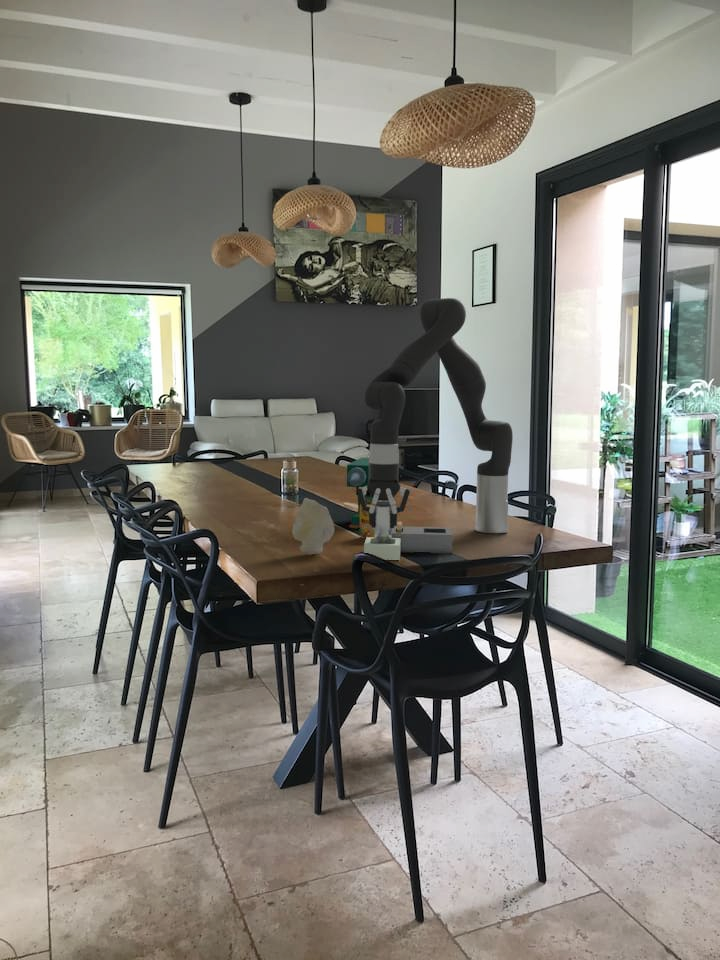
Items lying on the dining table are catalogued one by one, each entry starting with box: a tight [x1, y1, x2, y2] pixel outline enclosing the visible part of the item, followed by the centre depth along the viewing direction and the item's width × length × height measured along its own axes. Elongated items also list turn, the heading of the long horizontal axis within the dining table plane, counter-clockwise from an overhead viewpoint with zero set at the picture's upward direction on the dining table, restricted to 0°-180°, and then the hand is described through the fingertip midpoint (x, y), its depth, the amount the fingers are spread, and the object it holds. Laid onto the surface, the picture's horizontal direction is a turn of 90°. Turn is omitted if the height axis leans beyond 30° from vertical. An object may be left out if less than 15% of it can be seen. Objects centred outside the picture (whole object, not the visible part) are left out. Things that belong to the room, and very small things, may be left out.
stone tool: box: [292, 497, 336, 555], centre depth 203 cm, size 11×4×15 cm, turn 97°
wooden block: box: [396, 521, 403, 532], centre depth 212 cm, size 1×4×6 cm, turn 176°
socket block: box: [391, 525, 453, 554], centre depth 212 cm, size 18×10×5 cm, turn 86°
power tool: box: [346, 457, 373, 528], centre depth 239 cm, size 32×7×20 cm, turn 168°
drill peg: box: [374, 500, 392, 544], centre depth 201 cm, size 5×5×13 cm
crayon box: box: [359, 497, 375, 537], centre depth 223 cm, size 7×3×12 cm, turn 49°
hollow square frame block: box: [363, 537, 401, 562], centre depth 202 cm, size 9×9×4 cm
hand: (383, 527), depth 201 cm, fingers closed on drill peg, 4 cm apart
